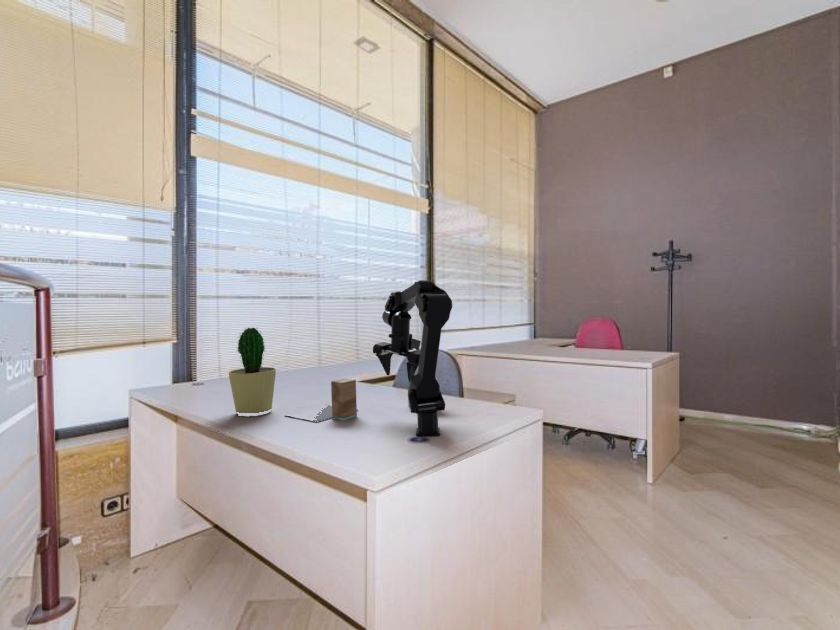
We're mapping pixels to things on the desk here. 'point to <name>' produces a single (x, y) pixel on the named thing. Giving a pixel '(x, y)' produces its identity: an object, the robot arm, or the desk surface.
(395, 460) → the desk surface
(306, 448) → the desk surface
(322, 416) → the grey thin slab
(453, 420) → the desk surface
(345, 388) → the walnut block
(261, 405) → the potted cactus
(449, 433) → the desk surface
